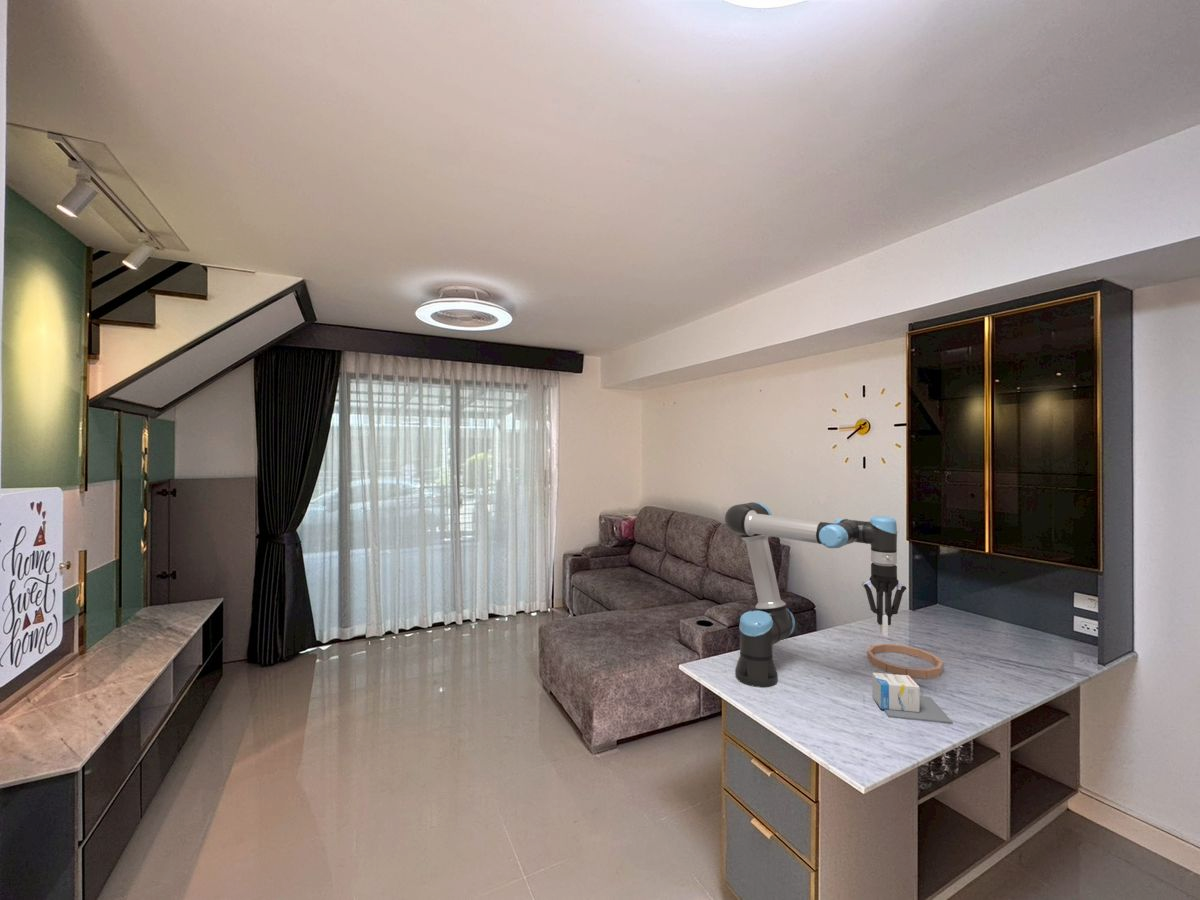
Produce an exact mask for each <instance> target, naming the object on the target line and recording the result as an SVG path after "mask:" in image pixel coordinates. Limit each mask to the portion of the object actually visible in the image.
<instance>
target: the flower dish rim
mask: <svg viewBox="0 0 1200 900" xmlns="http://www.w3.org/2000/svg"><path fill="white" fill-rule="evenodd" d="M883 653H893V654H894V653H895V654H904V655H907V654H908V656H911V655H912V657H916V656H917V657H916V658H919V657H920V658H919V659H922V660H924V659H925V660H924V661H926V660H927V661H926V662H928V663H932V664H933V666H935V667H930V668H924V669H923V668H914V667H913V668H910V667H903V666H900V665H897V664H892V663H889V662H886V661H884V660H882V659H880V658H878V657H876V656H875V655H876V654H883ZM866 658H867V660H868V661H869V663H871V665H872V666H874V667H876V668H878V669H879V670H882V671H884V672H886V673H888V674H896V675H909V676H910V677H911V678H912V679H922V678H924V679H923V680H928V678H929V679H933V677H934V678H938V677H937V676H939V677H941V676H942V674H941V673H943V672H944V662H943V661H942V660H941V659H940V658H939V657H938V656H937V655H935V654H933V653H930V652H928V651H926V650H923V649H921V648H916V647H913V646H907V645H903V644H892V643H880V644H874V645H871V646H870V647H869V648H868V649H867V650H866ZM942 671H943V672H942ZM940 675H941V676H940Z"/></svg>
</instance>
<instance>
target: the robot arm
mask: <svg viewBox="0 0 1200 900" xmlns="http://www.w3.org/2000/svg"><path fill="white" fill-rule="evenodd" d="M724 524H725V526H726V527H727V529H728V530H729V531H730V532H732V533H733V534H736V535H740V538H741V539H742V540H743V541H744V542H745V543H746V549H747V553H748V559H749V564H750V568H751V572H752V577H753V582H754V587H755V593H756V597H757V604H756V605H755V610H749V611H746V612H744V613H742V614H741V616H740V618H739V628H738V629H739V657H738V661H737V663H736V666H735V670H734V672H735V673H734V674H735V675H736V676H735V678H736V679H737V680H738V681H739V680H740V681H739V682H741V683H743V684H745V683H746V684H745V685H747V684H749V686H751V685H753V686H752V687H756V686H760V687H759V688H762V687H763V688H765V687H767V686H768V687H771V686H775V685H777V684H778V680H779V679H778V677H779V676H778V675H779V674H778V671H777V668H776V665H775V662H774V657H773V653H774V652H773V649H774V648H773V646H774V645H775V644H777V643H779V642H781V641H783V640H786V639H787V638H788V637H790V636H791V635H792V634H793V632H794V630H795V627H796V621H795V620H796V619H795V617H794V614H793V613H792V611H790V610H789V608H787V603H786V602H785V601H784V600H782V599H781V596H780V595H781V594H780V590H779V585H778V580H777V576H776V571H775V567H774V562H773V557H772V552H771V549H770V544H769V537H772V538H773V537H774V538H781V539H787V540H794V541H798V542H806V543H810V544H819V545H823V546H824V547H825V548H827V549H840V548H842V547H844V546H847V545H849V544H850V545H851V544H853V543H859V544H867V545H868V544H869V545H870V562H871V563H870V577H869V580H868V581H867V582H862V584H861V585H862V587H863V588H864V590H865V594H866V596H867V599H868V605H869V608H870V611H871V612H872V613H873V614H876V622H877V624H878V625H879V626H880V627H879V633H880V634H881V636H883V637H888V636H889V626H891V625H892V617H893V615H897V614H898V613H899V610H900V609H899V608H900V605H901V601H902V599H903V594H904V592H906V590H907V587H906V586H905V585H904V584H901V583H900V582H899V579H898V566H897V563H898V545H897V544H898V529H897V520H896V519H895V518H894V517H891V516H882V515H881V516H880V515H878V516H877V515H875V516H871V518H870V521H863V520H856V519H848V518H837V519H835V520H834V522H825V521H817V520H811V519H810V520H809V519H802V518H794V517H788V516H787V517H786V516H780V515H779V516H778V515H772V513H771V510H770V508H769V507H767V506H766V505H765V504H763V503H762V502H754V501H753V502H752V501H751V502H747V503H740V504H734V505H733V506H731V507H729V509H727V511H726V512H725V514H724ZM872 586H873V587H874V589H875V592H876V603H875V598H874V595H873V592H872ZM895 589H896V590H895ZM894 590H895V594H894V597H893V601H892V596H893V591H894ZM883 608H884V609H883Z"/></svg>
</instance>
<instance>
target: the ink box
mask: <svg viewBox="0 0 1200 900" xmlns="http://www.w3.org/2000/svg"><path fill="white" fill-rule="evenodd" d="M871 678H872V698H873V699H874V701H875V703H876V704H877V705H878V707H879V708H880V710H883V709H889V710H901V711H911V712H919V708H920V696H921V693H920V686H919V684H917V683H916V681H915V680H914V678H911V677H910V676H909V675H896V674H892V673H882V672H881V673H879V672H872V677H871Z"/></svg>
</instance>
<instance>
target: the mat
mask: <svg viewBox="0 0 1200 900" xmlns="http://www.w3.org/2000/svg"><path fill="white" fill-rule="evenodd" d="M882 710H883V711H884V713H885V714H886V716H887V718H891V719H901V720H912V721H913V720H914V721H920V722H921V721H922V722H930V723H932V722H933V723H941V724H952V725H953V724H954V722H953V720H952V719H951V718H950V717H949V716H948V715H947V714H946V713H945V711H944V710H943V709H942V708H941V707H940V706H939V705H938V704H937V702H936V701H935V700H934V699H933V698H932V697H931V696H925V695H923V696H922V695H920V708H919V712H911V711H901V710H889V709H882Z"/></svg>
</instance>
